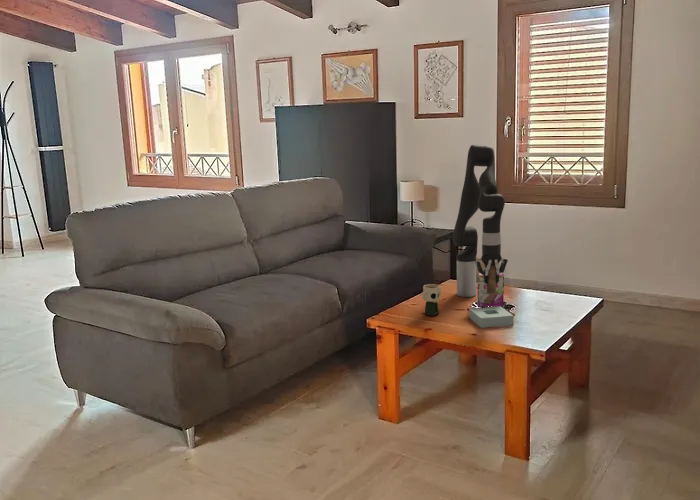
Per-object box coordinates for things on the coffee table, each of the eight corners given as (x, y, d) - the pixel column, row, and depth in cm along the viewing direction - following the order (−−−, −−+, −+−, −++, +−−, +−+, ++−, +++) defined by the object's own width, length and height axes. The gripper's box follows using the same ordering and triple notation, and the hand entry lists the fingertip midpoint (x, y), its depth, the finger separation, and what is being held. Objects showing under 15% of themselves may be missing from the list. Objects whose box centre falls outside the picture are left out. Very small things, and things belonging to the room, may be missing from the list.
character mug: (428, 319, 281) (428, 289, 278) (417, 315, 287) (416, 286, 284) (446, 313, 287) (446, 285, 285) (435, 310, 293) (434, 282, 290)
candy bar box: (478, 311, 289) (478, 275, 286) (477, 308, 294) (477, 272, 291) (503, 311, 288) (504, 274, 285) (502, 307, 293) (502, 272, 290)
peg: (485, 292, 274) (485, 264, 271) (493, 291, 274) (493, 263, 272) (488, 294, 270) (488, 266, 268) (497, 293, 271) (497, 265, 268)
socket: (469, 317, 280) (469, 308, 280) (500, 315, 283) (500, 306, 282) (481, 327, 267) (481, 318, 266) (513, 324, 269) (513, 315, 268)
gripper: (504, 240, 273) (503, 280, 276) (471, 242, 271) (471, 282, 274) (511, 243, 266) (511, 284, 269) (478, 245, 263) (478, 287, 267)
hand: (491, 283), depth 271 cm, fingers closed on peg, 3 cm apart
